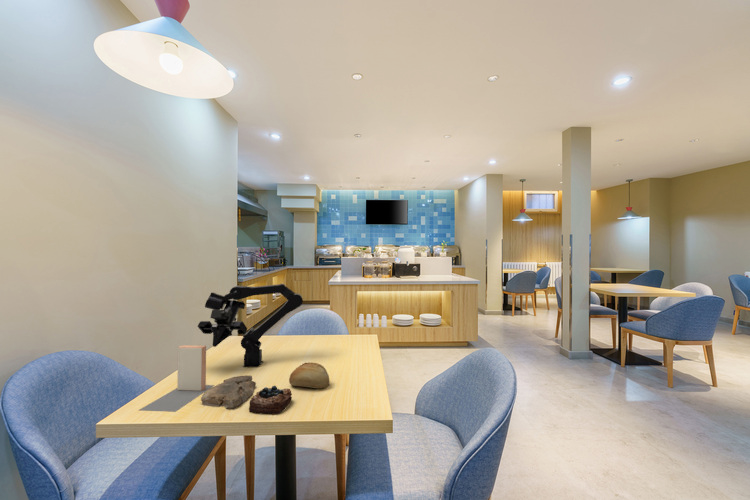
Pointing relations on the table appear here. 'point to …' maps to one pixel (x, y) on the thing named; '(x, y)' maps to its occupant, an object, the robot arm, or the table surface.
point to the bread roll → (310, 376)
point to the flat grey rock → (229, 392)
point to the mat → (174, 400)
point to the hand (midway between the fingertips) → (214, 346)
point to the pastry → (270, 401)
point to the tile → (191, 368)
